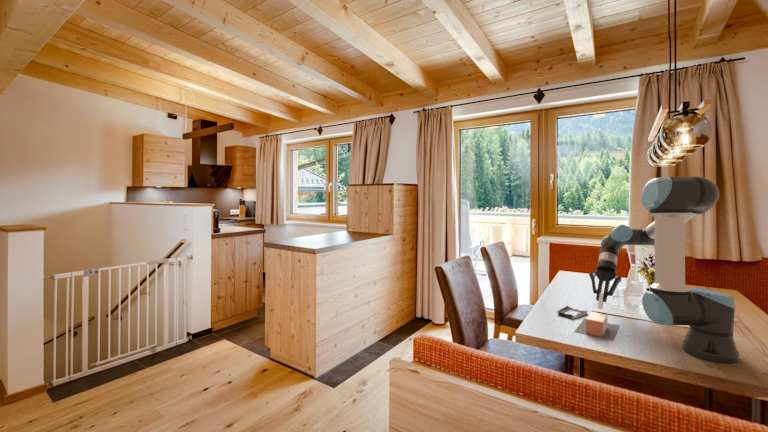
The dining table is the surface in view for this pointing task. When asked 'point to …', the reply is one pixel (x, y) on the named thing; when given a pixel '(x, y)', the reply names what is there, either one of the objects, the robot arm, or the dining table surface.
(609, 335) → the charcoal mat
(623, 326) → the dining table surface
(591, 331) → the off-white block
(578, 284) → the dining table surface
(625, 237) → the robot arm
